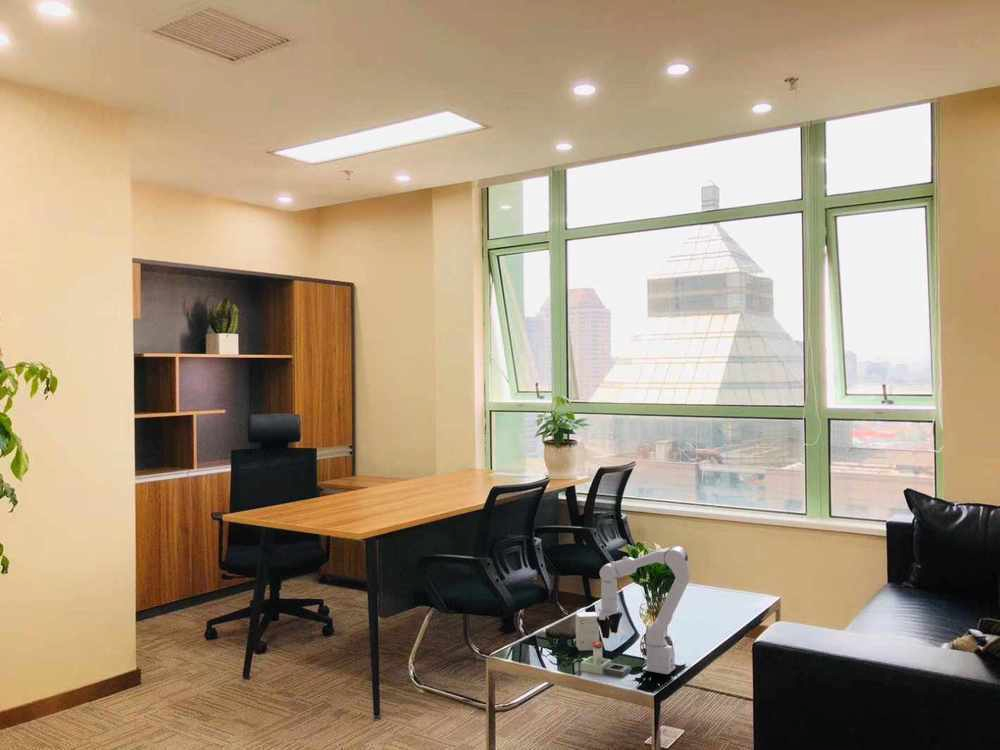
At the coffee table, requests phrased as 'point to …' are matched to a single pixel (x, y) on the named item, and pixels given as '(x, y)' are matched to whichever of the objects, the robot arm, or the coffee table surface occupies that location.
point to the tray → (594, 665)
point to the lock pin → (597, 652)
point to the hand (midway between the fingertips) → (609, 635)
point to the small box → (586, 630)
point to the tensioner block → (617, 670)
